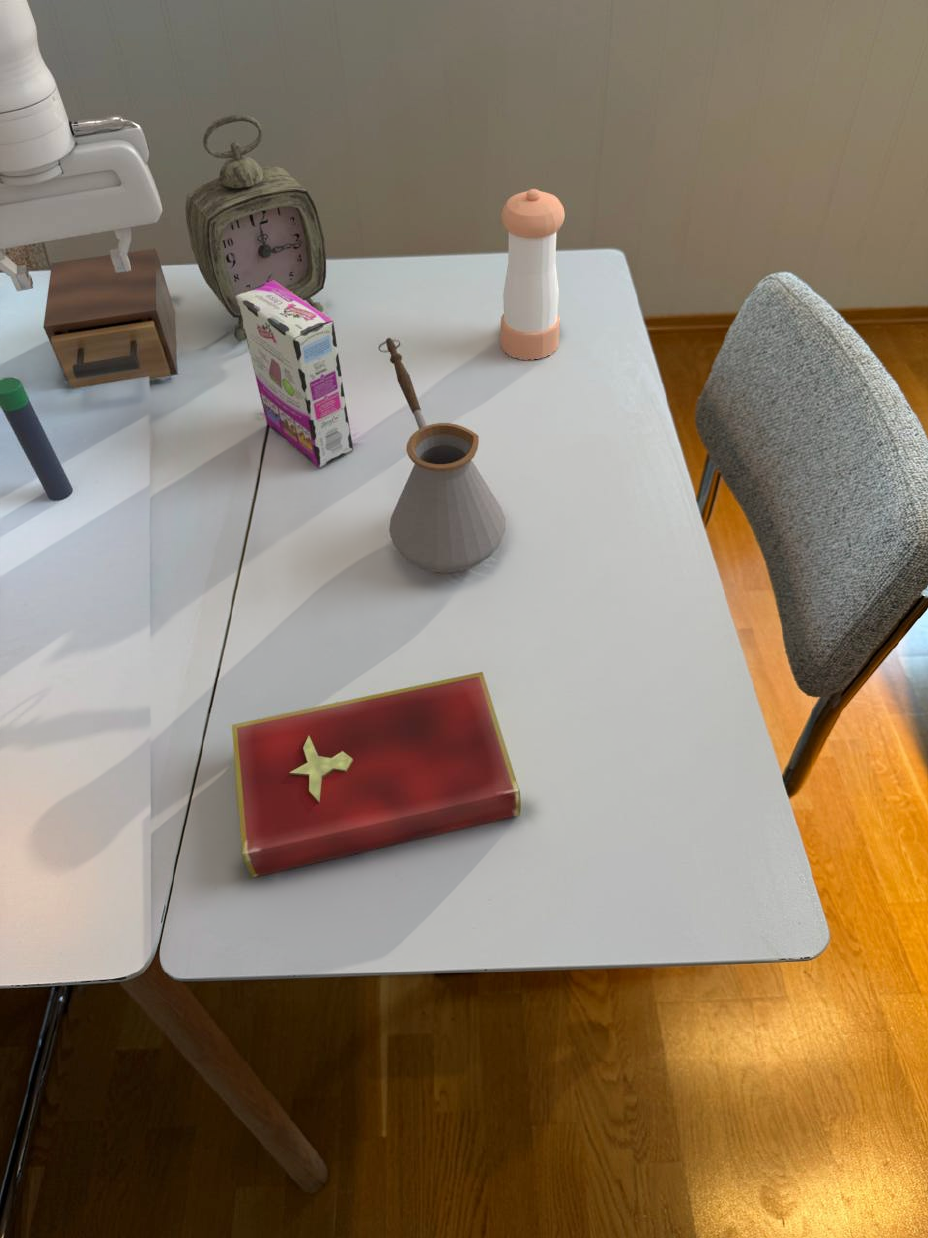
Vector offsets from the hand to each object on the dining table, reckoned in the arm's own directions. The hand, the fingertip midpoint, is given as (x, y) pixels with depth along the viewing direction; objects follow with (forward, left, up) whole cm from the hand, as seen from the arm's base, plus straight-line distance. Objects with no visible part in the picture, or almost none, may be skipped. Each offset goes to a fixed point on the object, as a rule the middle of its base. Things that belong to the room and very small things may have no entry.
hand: (75, 278), depth 89 cm
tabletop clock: (+17, +20, -20) cm, 33 cm away
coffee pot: (+30, -21, -20) cm, 42 cm away
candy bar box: (+19, -6, -20) cm, 28 cm away
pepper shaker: (+48, +5, -20) cm, 53 cm away
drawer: (-2, +14, -19) cm, 23 cm away
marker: (-8, -10, -20) cm, 23 cm away
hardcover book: (+20, -52, -20) cm, 59 cm away
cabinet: (-2, +19, -20) cm, 27 cm away
